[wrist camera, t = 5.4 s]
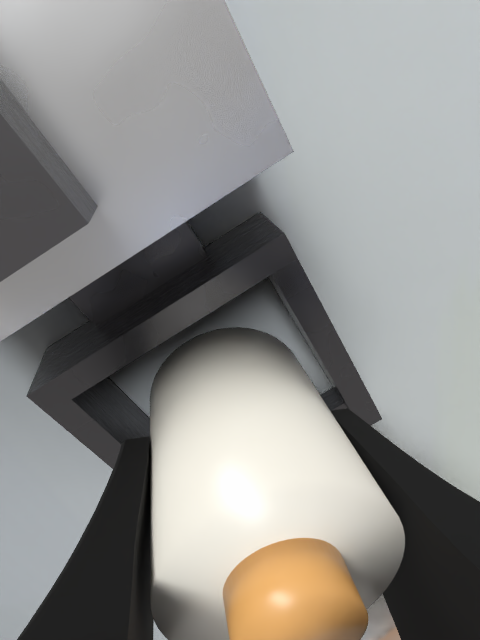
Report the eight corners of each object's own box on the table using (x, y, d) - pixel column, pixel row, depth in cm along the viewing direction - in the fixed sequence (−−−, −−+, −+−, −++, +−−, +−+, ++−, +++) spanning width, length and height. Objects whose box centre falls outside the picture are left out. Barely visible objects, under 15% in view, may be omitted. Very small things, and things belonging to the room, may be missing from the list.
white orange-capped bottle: (331, 362, 13) (491, 566, 7) (254, 471, 15) (332, 723, 8) (196, 301, 11) (253, 506, 5) (123, 433, 13) (98, 719, 7)
